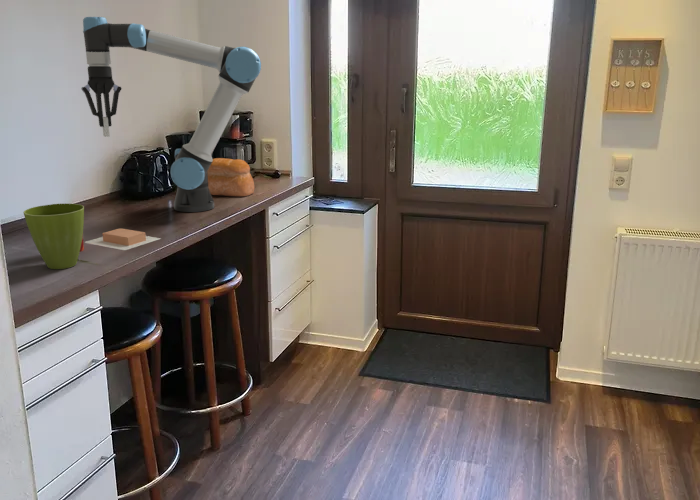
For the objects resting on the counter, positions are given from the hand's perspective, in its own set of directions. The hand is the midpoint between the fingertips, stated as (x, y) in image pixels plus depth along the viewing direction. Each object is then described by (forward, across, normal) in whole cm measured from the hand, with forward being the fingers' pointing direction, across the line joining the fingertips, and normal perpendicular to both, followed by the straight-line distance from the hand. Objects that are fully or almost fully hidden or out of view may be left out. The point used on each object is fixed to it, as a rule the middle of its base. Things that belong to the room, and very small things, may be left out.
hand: (106, 136), depth 223 cm
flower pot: (+30, +25, +50) cm, 63 cm away
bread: (+30, -50, -24) cm, 63 cm away
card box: (+28, +7, +30) cm, 42 cm away
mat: (+29, +5, +34) cm, 45 cm away
